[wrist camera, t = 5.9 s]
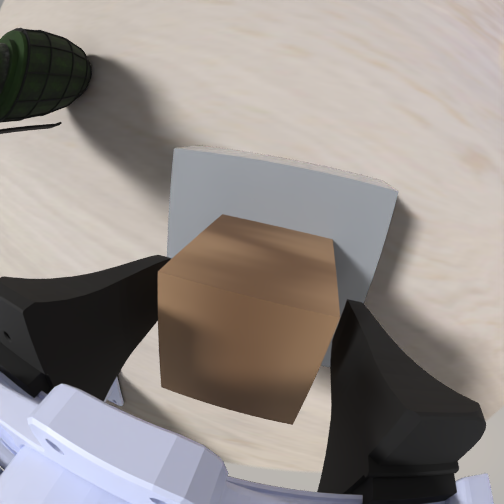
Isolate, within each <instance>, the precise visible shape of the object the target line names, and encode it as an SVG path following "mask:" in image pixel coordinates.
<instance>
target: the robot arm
mask: <svg viewBox="0 0 504 504" xmlns="http://www.w3.org/2000/svg"><path fill="white" fill-rule="evenodd" d="M170 260H171V258H169V257H165V256H161V255H155V256H150V257H147V258H143V259H140V260H136V261H133V262H130V263H127V264H124V265H120V266H117V267H113V268H110V269H106V270H102V271H99V272H94V273H90V274H85V275H79V276H73V277H63V278H53V279H24V278H12V277H1V278H0V466H1V467H2V468H3V469H4V471H2V469H1V468H0V504H494V502H493V497H492V491H491V486H490V482H489V477H488V474H487V473H484V474H479V475H474V476H468V477H464V478H461V479H459V480H457V481H455V478H454V473H456V472H457V471H458V470H459V466H458V460H459V459H460V458H461V457H462V456H464V455H465V454H466V453H467V451H469V450H470V449H471V448H472V447H473V446H474V445H475V444H476V443H477V442H478V441H479V440H480V438H481V437H482V435H483V433H484V431H485V428H486V422H485V419H484V416H483V414H482V411H481V408H480V405H479V403H477V402H475V401H473V400H471V399H469V398H467V397H465V396H463V395H461V394H459V393H457V392H455V391H453V390H452V389H450V388H449V387H447V386H445V385H444V384H442V383H441V382H439V381H438V380H436V379H435V378H433V377H432V376H431V375H430V374H428V373H427V372H426V371H424V370H423V369H422V368H421V367H419V366H418V365H417V364H416V363H415V362H414V361H413V360H412V359H411V358H409V357H408V356H407V355H406V354H405V353H404V352H403V351H402V350H401V349H400V348H399V347H398V345H397V344H396V343H395V342H394V341H393V340H392V339H391V338H390V336H389V335H388V334H387V333H386V332H385V330H384V329H383V328H382V327H381V325H380V324H379V323H378V322H377V320H376V319H375V318H374V316H373V315H372V314H371V313H370V311H369V310H368V309H367V308H366V306H365V305H364V304H363V303H362V302H358V301H354V300H349V299H347V301H346V304H345V307H344V310H343V312H342V315H341V318H340V321H339V323H338V326H337V329H336V331H335V334H334V336H333V339H332V347H331V358H330V369H331V403H332V407H331V421H330V429H329V437H328V443H327V450H326V456H325V461H324V466H323V470H322V475H321V480H320V484H319V487H318V491H317V492H310V491H302V490H295V489H288V488H282V487H276V486H270V485H265V484H260V483H255V482H251V481H246V480H242V479H238V478H234V477H230V476H228V471H227V469H226V467H225V464H224V462H223V461H222V459H221V458H220V457H219V456H217V455H216V454H215V453H213V452H212V451H211V450H209V449H208V448H207V447H206V446H204V445H202V444H200V443H198V442H196V441H193V440H191V439H189V438H187V437H185V436H183V435H181V434H178V433H175V432H172V431H170V430H167V429H164V428H162V427H159V426H157V425H154V424H152V423H149V422H147V421H145V420H142V419H140V418H137V417H135V416H133V415H131V414H128V413H126V412H124V411H122V410H120V409H118V408H116V407H113V406H111V405H109V404H107V403H105V402H106V401H107V400H108V401H111V402H113V403H115V404H117V405H119V406H123V404H124V402H123V398H122V394H121V390H120V386H119V382H118V378H117V375H118V373H119V372H120V370H121V368H122V367H123V365H124V364H125V362H126V360H127V359H128V357H129V356H130V354H131V353H132V352H133V350H134V349H135V348H136V347H137V345H138V344H139V343H140V342H141V341H142V339H143V338H144V337H145V336H146V334H147V333H148V332H149V331H150V330H151V328H152V327H153V326H154V325H155V323H156V322H157V321H158V271H159V270H160V269H161V268H162V267H163V266H164V265H165V264H167V263H168V262H169V261H170Z"/></svg>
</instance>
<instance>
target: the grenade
mask: <svg viewBox="0 0 504 504" xmlns="http://www.w3.org/2000/svg"><path fill="white" fill-rule="evenodd" d="M90 78H91V65H90V62H89V61H88V59H87V56H86V54H85V52H84V51H83V50H82V49H81V48H80V47H78V46H77V45H75V44H74V43H72V42H71V41H69V40H68V39H66V38H64V37H61V36H57V35H54V34H51V33H48V32H45V31H42V30H28V29H22V28H16V29H14V30H12V31H10V32H8V33H6V34H5V35H4V36H3V37H2V38H1V39H0V122H9V121H20V120H23V119H26V118H31V117H36V116H44V115H46V114H49V113H51V112H54V111H56V110H59V109H62V108H64V107H67V106H68V105H70V104H71V103H72V102H73V101H75V99H76V98H77V97H79V96H80V95H81V94H82V93H83V92H84V91H85V90H86V88H87V86H88V84H89V82H90ZM60 124H61V122H59V123H56V124H46V125H34V126H24V127H15V128H7V129H0V134H3V133H10V132H18V131H27V130H37V129H48V128H52V127H55V126H58V125H60Z"/></svg>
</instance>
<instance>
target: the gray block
mask: <svg viewBox="0 0 504 504" xmlns="http://www.w3.org/2000/svg"><path fill="white" fill-rule="evenodd" d="M397 195H398V191H397V190H396V189H394V188H393V187H392V186H390V185H389V184H387V183H386V182H385V181H383V180H379V179H375V178H371V177H368V176H364V175H360V174H356V173H352V172H348V171H343V170H339V169H335V168H331V167H326V166H322V165H317V164H312V163H307V162H302V161H297V160H292V159H287V158H282V157H276V156H271V155H265V154H259V153H253V152H246V151H240V150H233V149H226V148H219V147H211V146H203V145H195V146H187V147H179V148H174V153H173V163H172V175H171V188H170V202H169V220H168V243H167V257H169V258H171V259H172V258H173V257H174V256H175V255H176V254H178V253H179V252H180V251H181V250H182V249H183V248H184V247H185V246H186V245H188V244H189V243H190V242H191V241H192V240H193V239H194V238H195V237H197V236H198V235H199V234H200V233H201V232H202V231H203V230H205V229H206V228H207V227H208V226H209V225H210V224H211V223H213V222H214V221H215V220H216V219H217V218H218V217H220V216H221V215H222V214H224V215H229V216H233V217H238V218H242V219H247V220H252V221H256V222H261V223H265V224H269V225H274V226H278V227H283V228H287V229H291V230H296V231H300V232H304V233H308V234H313V235H317V236H321V237H325V238H329V239H333V248H334V256H335V266H336V275H337V286H338V297H339V310H340V318H341V315H342V312H343V310H344V307H345V304H346V301H347V299H349V300H354V301H358V302H362V303H363V304H364V301H365V298H366V295H367V293H368V290H369V287H370V284H371V282H372V279H373V276H374V273H375V270H376V267H377V264H378V261H379V258H380V255H381V252H382V248H383V245H384V242H385V239H386V235H387V232H388V228H389V225H390V221H391V218H392V214H393V210H394V207H395V203H396V199H397ZM339 321H340V319H339ZM338 323H339V322H338ZM337 326H338V324H337ZM336 329H337V327H336ZM336 329H335V331H336ZM334 334H335V332H334ZM334 334H333V336H334ZM332 339H333V337H332ZM332 339H331V342H330V344H329V347H328V349H327V351H326V354H325V356H324V359H323V361H322V363H321V365H320V366H325V367H330V358H331V347H332Z"/></svg>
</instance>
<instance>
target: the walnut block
mask: <svg viewBox="0 0 504 504" xmlns="http://www.w3.org/2000/svg"><path fill="white" fill-rule="evenodd" d="M339 319H340V310H339V297H338V286H337V275H336V266H335V256H334V248H333V239H329V238H325V237H321V236H317V235H313V234H308V233H304V232H300V231H296V230H291V229H287V228H283V227H278V226H274V225H269V224H265V223H261V222H256V221H252V220H247V219H242V218H238V217H233V216H229V215H224V214H222V215H221V216H220V217H218V218H217V219H216V220H215V221H214V222H213V223H211V224H210V225H209V226H208V227H207V228H206V229H205V230H203V231H202V232H201V233H200V234H199V235H198V236H197V237H195V238H194V239H193V240H192V241H191V242H190V243H189V244H188V245H186V246H185V247H184V248H183V249H182V250H181V251H180V252H179V253H178V254H176V255H175V256H174V257H173V258H172V259H171V260H170V261H169V262H168V263H167V264H165V265H164V266H163V267H162V268H161V269H160V270H159V271H158V335H159V357H160V374H161V387H163V388H165V389H168V390H171V391H173V392H176V393H179V394H182V395H185V396H188V397H191V398H194V399H197V400H200V401H203V402H206V403H209V404H212V405H216V406H219V407H222V408H226V409H229V410H233V411H236V412H240V413H244V414H248V415H252V416H256V417H260V418H264V419H268V420H273V421H277V422H282V423H287V424H292V425H293V423H294V421H295V419H296V417H297V415H298V413H299V411H300V409H301V407H302V405H303V403H304V400H305V398H306V396H307V394H308V392H309V390H310V388H311V386H312V383H313V381H314V379H315V377H316V375H317V372H318V370H319V368H320V365H321V363H322V361H323V359H324V356H325V354H326V351H327V349H328V347H329V344H330V342H331V339H332V337H333V334H334V332H335V329H336V327H337V324H338V322H339Z"/></svg>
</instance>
